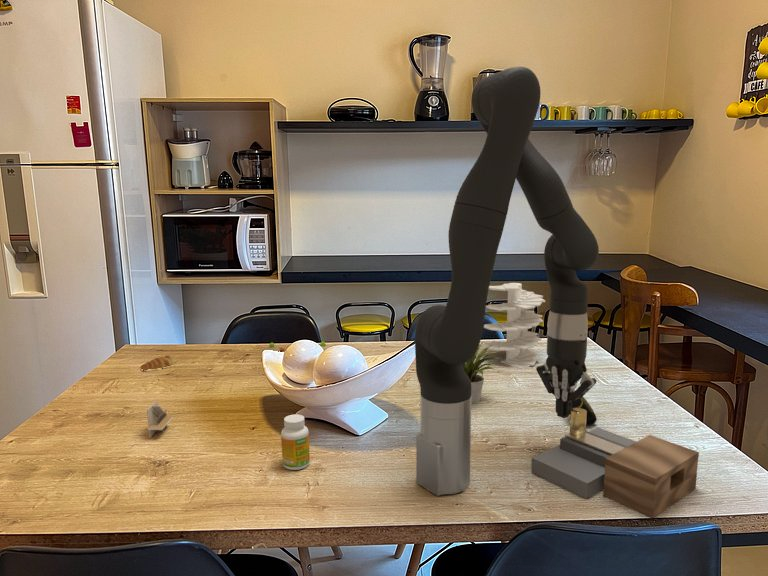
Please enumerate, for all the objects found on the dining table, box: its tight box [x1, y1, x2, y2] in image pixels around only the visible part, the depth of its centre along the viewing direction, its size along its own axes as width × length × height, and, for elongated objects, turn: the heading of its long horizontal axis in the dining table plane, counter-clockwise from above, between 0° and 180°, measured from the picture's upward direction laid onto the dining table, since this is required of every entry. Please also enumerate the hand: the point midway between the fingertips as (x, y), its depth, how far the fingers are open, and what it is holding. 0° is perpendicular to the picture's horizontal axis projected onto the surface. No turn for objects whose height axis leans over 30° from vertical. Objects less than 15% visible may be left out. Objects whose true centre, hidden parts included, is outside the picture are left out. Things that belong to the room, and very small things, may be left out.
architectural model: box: [146, 400, 174, 438], centre depth 125 cm, size 3×7×7 cm, turn 1°
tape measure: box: [572, 396, 598, 425], centre depth 129 cm, size 7×7×4 cm
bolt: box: [564, 408, 624, 456], centre depth 108 cm, size 4×11×7 cm, turn 37°
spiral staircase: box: [481, 282, 546, 370], centre depth 172 cm, size 18×18×25 cm
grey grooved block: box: [530, 427, 637, 500], centre depth 109 cm, size 22×12×5 cm, turn 127°
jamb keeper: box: [602, 434, 700, 519], centre depth 99 cm, size 15×9×7 cm, turn 127°
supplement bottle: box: [280, 413, 311, 471], centre depth 111 cm, size 5×5×10 cm
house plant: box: [462, 340, 498, 405], centre depth 141 cm, size 14×14×16 cm
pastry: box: [140, 354, 175, 370], centre depth 169 cm, size 9×7×4 cm
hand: (563, 416), depth 113 cm, fingers closed
